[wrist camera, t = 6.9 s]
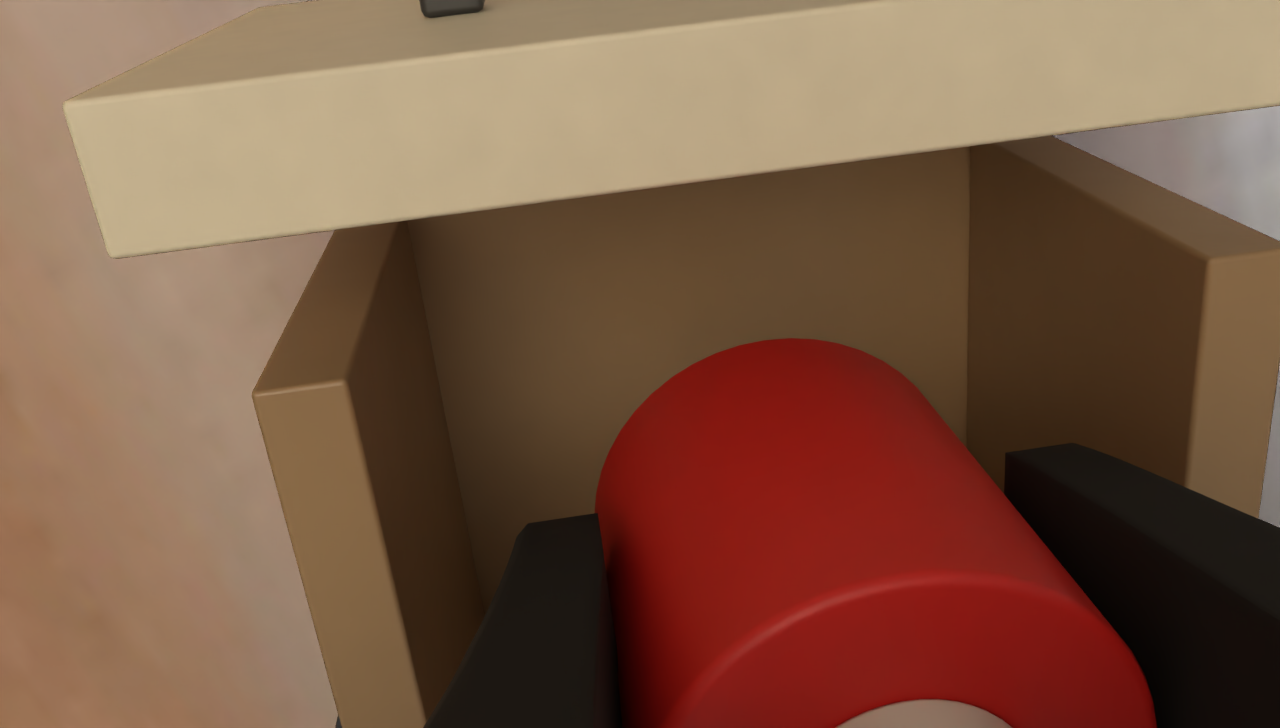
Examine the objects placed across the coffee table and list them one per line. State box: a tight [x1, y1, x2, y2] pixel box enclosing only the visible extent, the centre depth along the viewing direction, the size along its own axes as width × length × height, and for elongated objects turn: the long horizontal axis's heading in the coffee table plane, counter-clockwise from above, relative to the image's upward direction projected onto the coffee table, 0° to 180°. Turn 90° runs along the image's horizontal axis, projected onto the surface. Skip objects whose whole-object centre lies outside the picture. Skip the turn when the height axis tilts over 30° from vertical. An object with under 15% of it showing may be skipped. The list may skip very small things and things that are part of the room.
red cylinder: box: [595, 338, 1157, 728], centre depth 9 cm, size 4×4×5 cm
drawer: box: [63, 0, 1280, 728], centre depth 13 cm, size 17×10×7 cm, turn 6°
